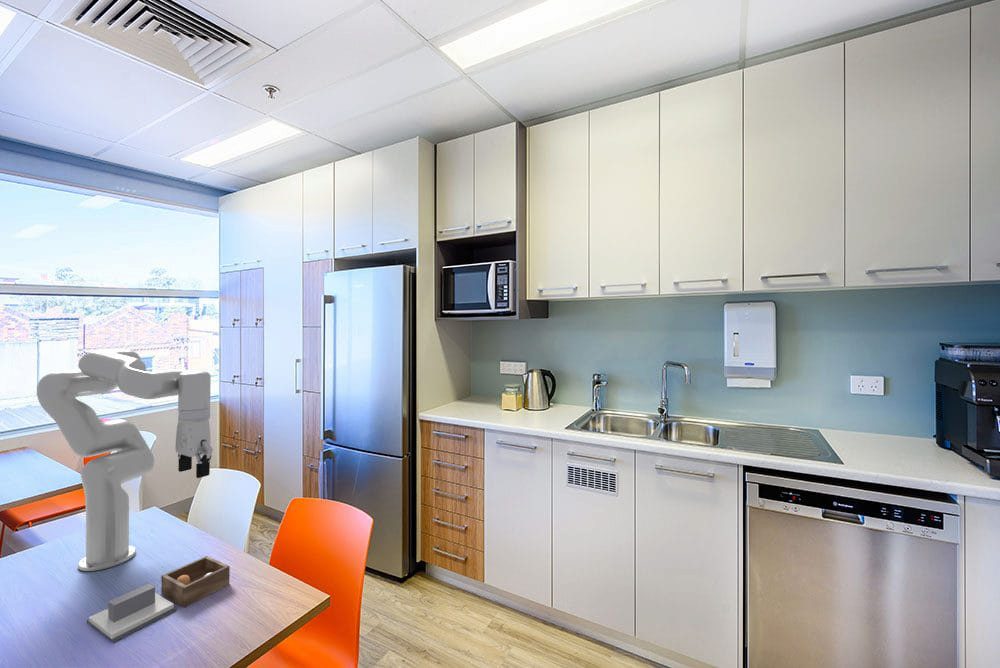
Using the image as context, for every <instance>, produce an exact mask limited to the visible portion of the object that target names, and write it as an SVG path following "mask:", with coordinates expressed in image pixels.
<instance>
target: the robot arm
mask: <svg viewBox="0 0 1000 668" xmlns="http://www.w3.org/2000/svg"><path fill="white" fill-rule="evenodd" d="M77 366H78V368H75V369H67V370H66V369H64V370H58V371H54V372H50V373H48V374H46V375H44V376H43V377H41V378H40V379H39V381H38V384H37V386H36V397H37V400H38V402H39V405H40V406H41V408H42V409H43V410H44V411H45V413H47V414H48V415H49V416H50V418H52V419H53V421H54V422H55V423H56V425H57V426H58V428H59V430H60V432H61V434H62V435H63V437H64V438H65V440H66V442H67V443H68V445H69V447H70V449H71V450H72V451H73V453H74V454H75V455H76V456H77V457H80V458H91V457H95V456H98V457H95V458H94V459H91V460H90V461H88V462H87V463H86V464H84V466H83V467H82V469H81V470H80V471H81V472H80V480H81V484H82V487H83V491H84V496H85V497H84V498H85V557H83V558H82V559H81V560H79V562H78V564H77V565H78V570H80V571H82V572H94V571H95V572H96V571H101V570H105V569H110V568H113V567H115V566H119V565H120V564H123V563H125V562H127V561H129V560H130V559H132V558H133V557H134V556H135V555H136V547H135V546H132V545H130V498H129V494H128V493H127V491H126V490H125V489H124V488H123V487H122V486H121V484H124V483H126V482H130V481H132V480H135V479H138V478H141V477H143V476H146V475H147V474H149V473H150V472H151V471H152V470H153V468H154V466H155V457H154V454H153V453H152V450H151V448H150V446H149V445H148V444H147V442H146V440H145V438H144V437H143V435H142V434H141V432H140V430H139V429H138V428H137V426H136V425H135V424H134V423H132V422H131V421H130V420H127V419H113V420H110V421H109V420H108V421H102V420H101V418H99V416H98V414H97V413H96V411H95V410H94V409H93V408H92V406H90V405H88V404H87V403H85V402H83V401H80V400H78V399H77V398H79V397H85V396H87V397H88V396H92V395H93V396H95V395H100V394H101V395H102V394H105V393H109V392H111V391H113V390H115V389H117V388H118V389H119V390H120V391H121V392H122V393H123V394H125V395H128V396H131V397H134V398H138V399H142V400H143V399H144V400H157V399H161V398H167V397H174V396H178V397H177V400H178V401H177V403H178V405H177V408H178V409H177V427H176V434H175V452H176V454H177V453H178V454H177V458H178V466H177V467H178V468H177V469H178V472H179V473H181V472H185V471H190V470H191V469H192V468H193V466H192V464H193V462H192V460H193V458H194V457H195V459H196V462H197V463H196V466H195V469H196V471H195V474H196V475H195V476H196V479H200V478H204V477H207V476H210V474H211V473H210V472H211V471H210V470H211V469H210V468H211V467H210V466H211V464H210V463H211V461H212V459H211V458H212V454H213V451H214V450H213V449H214V448H212V446H211V442H212V441H211V427H210V419H211V386H212V385H211V383H212V382H211V379H212V378H211V374H210V373H209V372H208V371H205V370H204V371H202V370H194V371H192V370H189V369H181V368H179V369H178V368H177V369H168V370H158V371H157V370H156V371H147V367H146V363H145V362H144V361H143V360H142V359H141V357H140V355H139V354H138V353H137V352H136V351H134V350H131V349H127V348H124V349H121V348H119V349H100V350H99V349H98V350H93V351H89V352H88V353H85V354H84V355H82V357H80V358H79V360H78V364H77ZM114 451H115V452H114ZM112 452H113V453H112ZM107 453H109V454H107ZM103 454H104V455H103ZM100 455H102V456H100ZM201 456H202V457H201Z"/></svg>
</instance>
